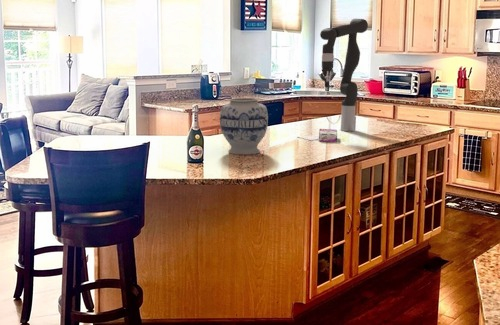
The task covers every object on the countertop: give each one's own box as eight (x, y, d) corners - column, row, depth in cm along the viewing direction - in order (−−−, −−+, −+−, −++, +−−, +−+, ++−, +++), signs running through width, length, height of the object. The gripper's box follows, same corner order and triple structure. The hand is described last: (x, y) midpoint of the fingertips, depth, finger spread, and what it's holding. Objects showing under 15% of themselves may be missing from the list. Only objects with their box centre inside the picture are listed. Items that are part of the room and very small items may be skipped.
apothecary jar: (211, 154, 349) (211, 99, 342) (232, 146, 372) (232, 95, 366) (256, 158, 338) (256, 102, 332) (274, 149, 362) (275, 97, 356)
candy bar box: (319, 136, 405) (318, 141, 390) (319, 128, 404) (319, 133, 388) (336, 137, 404) (336, 142, 388) (337, 129, 403) (337, 134, 387)
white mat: (316, 135, 413) (316, 134, 413) (330, 138, 401) (330, 137, 401) (297, 137, 404) (297, 136, 404) (310, 140, 393) (310, 139, 393)
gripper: (332, 59, 413) (331, 86, 416) (315, 60, 406) (315, 87, 410) (339, 60, 407) (338, 87, 410) (323, 60, 400) (322, 88, 403)
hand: (326, 87), depth 410 cm, fingers closed
